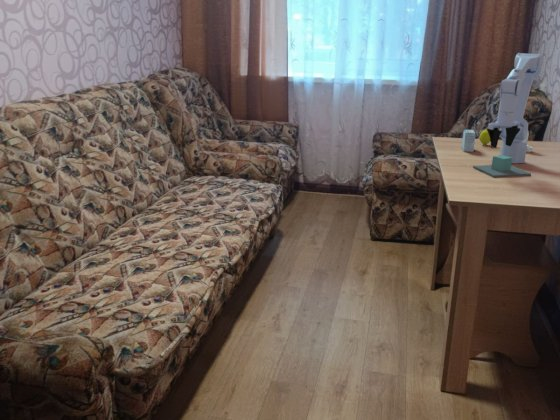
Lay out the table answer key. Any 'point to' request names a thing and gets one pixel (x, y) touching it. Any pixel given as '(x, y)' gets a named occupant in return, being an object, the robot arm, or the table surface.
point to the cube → (501, 163)
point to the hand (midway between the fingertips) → (500, 146)
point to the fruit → (484, 137)
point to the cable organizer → (529, 149)
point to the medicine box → (468, 140)
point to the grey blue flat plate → (496, 173)
